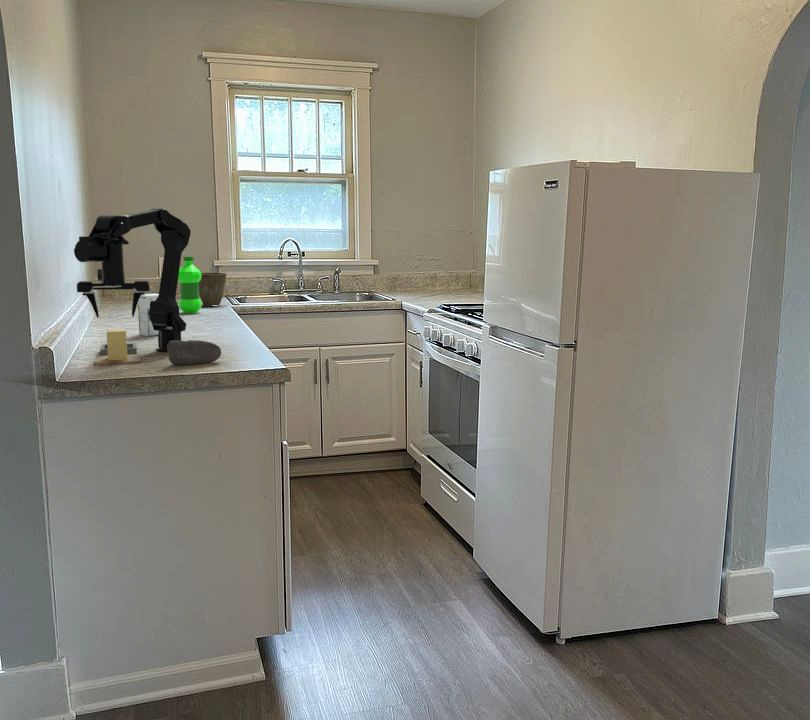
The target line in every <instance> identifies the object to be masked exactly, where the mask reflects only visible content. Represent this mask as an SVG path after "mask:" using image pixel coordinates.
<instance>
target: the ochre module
mask: <svg viewBox="0 0 810 720" xmlns="http://www.w3.org/2000/svg"><path fill="white" fill-rule="evenodd" d="M127 343H128V342H127V329H126V328H120V329H117V328H114V329H106V344H107V346H108V360H126V359H127Z"/></svg>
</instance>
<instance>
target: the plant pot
mask: <svg viewBox="0 0 810 720" xmlns="http://www.w3.org/2000/svg"><path fill="white" fill-rule="evenodd" d="M226 279H227V273H225V272H201V280H200V281H199V299H200V300H201V303H202V305H203V307H205V306H212V305H219V304H220V305H221V302H222V299H223V295H224V292H225V287H226V286H225V285H226ZM220 305H219V306H220Z"/></svg>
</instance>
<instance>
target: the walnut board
mask: <svg viewBox="0 0 810 720" xmlns="http://www.w3.org/2000/svg"><path fill="white" fill-rule="evenodd" d="M141 363H142V361H141V354H140V353H137V354H132V355H127V359H126V360H108V356H101V355H96V356H95V359H94V362H93V364H94V365H93V366H105V365H126V364H127V365H130V364H131V365H132V364H141Z"/></svg>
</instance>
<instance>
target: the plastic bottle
mask: <svg viewBox="0 0 810 720" xmlns="http://www.w3.org/2000/svg"><path fill="white" fill-rule="evenodd" d="M182 261H183V262H184V265H183V266H180V268H179V276H178V283H179V287H180V288H179V289H180V299H179V301H178V306H179V310H181V311H182V312H183V313H184V314H187V313H193V314H197V313H198V312H199V311H200V310H201V308H202V305H203V303H202V301H201V298H200V295H199V281H200V280H201V273H202V272H201V271H200V269H198V268H197V267H196V266H195V265H194V264H193V262H194V256H183V260H182ZM196 312H197V313H196Z"/></svg>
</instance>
